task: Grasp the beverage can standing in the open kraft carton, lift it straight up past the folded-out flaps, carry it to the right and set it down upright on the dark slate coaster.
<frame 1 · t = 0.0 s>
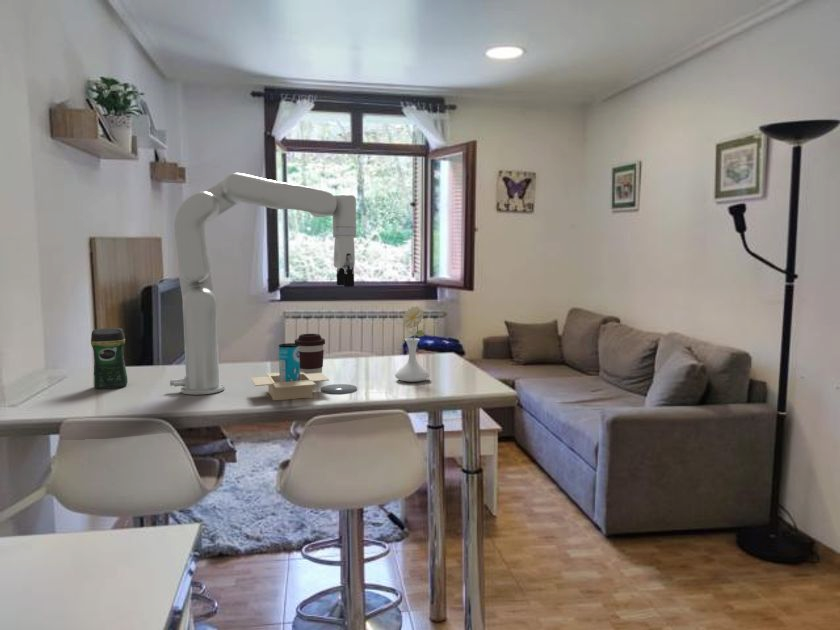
hand: (345, 285, 200), 31 cm above the table, tool pointing down, fingers open, 9 cm apart
coaster: (338, 389, 188), on the table
carton: (290, 394, 182), on the table
coffee cup: (310, 380, 204), on the table
flower in vase: (413, 381, 201), on the table
beverage can: (290, 395, 182), resting in carton
coffee jar: (110, 387, 193), on the table
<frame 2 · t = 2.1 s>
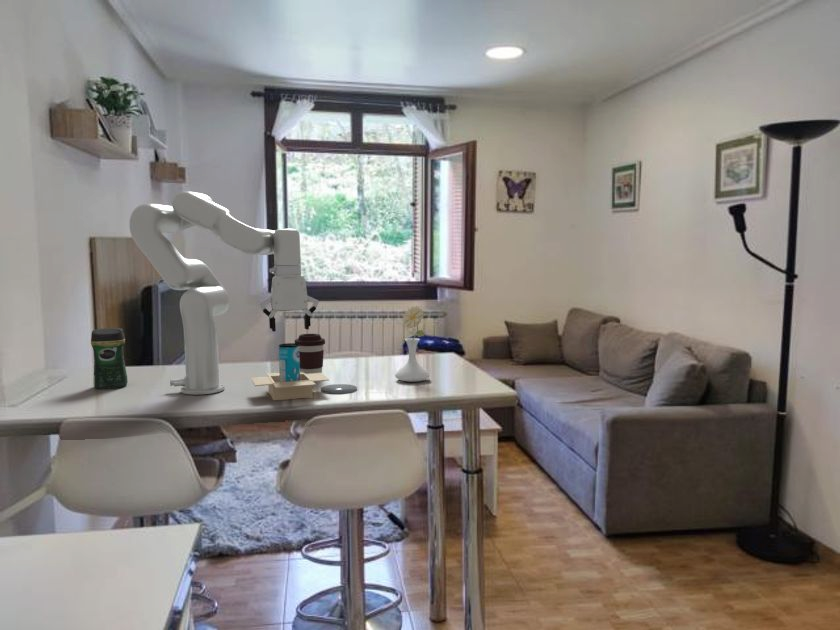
hand: (290, 330, 180), 19 cm above the table, tool pointing down, fingers open, 9 cm apart
nothing on the table moved.
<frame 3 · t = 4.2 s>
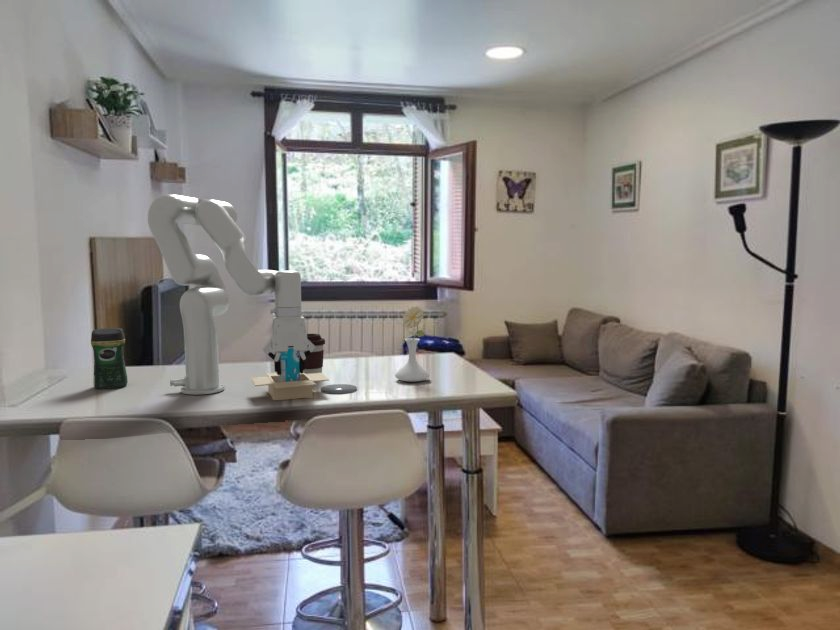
hand: (289, 372, 181), 7 cm above the table, tool pointing down, fingers closed on beverage can, 5 cm apart
beverage can: (290, 395, 182), resting in carton, touching gripper
everything else where it was.
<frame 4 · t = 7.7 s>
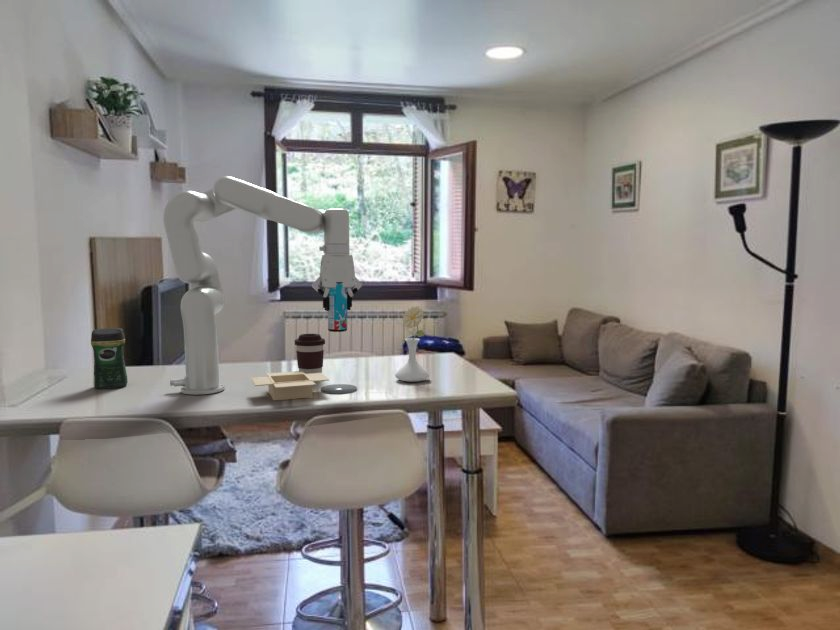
hand: (337, 309, 186), 25 cm above the table, tool pointing down, fingers closed on beverage can, 5 cm apart
beverage can: (337, 331, 187), point 18 cm above the table, touching gripper
everything else where it was.
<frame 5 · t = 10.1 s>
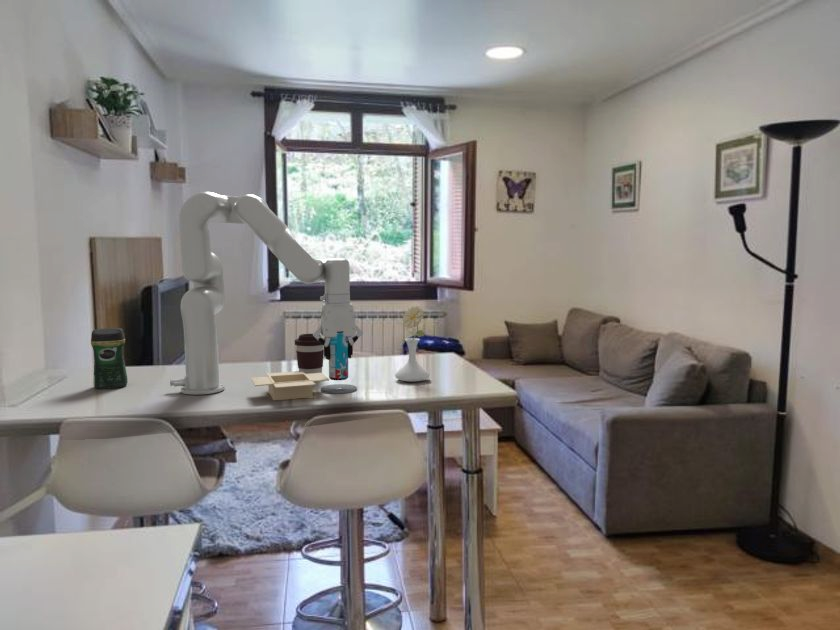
hand: (338, 357, 187), 10 cm above the table, tool pointing down, fingers closed on beverage can, 5 cm apart
beverage can: (338, 379, 188), point 3 cm above the table, touching gripper
everything else where it was.
when the fingers open (8 cm above the table, at t = 11.6 s): beverage can stays where it is, resting on coaster.
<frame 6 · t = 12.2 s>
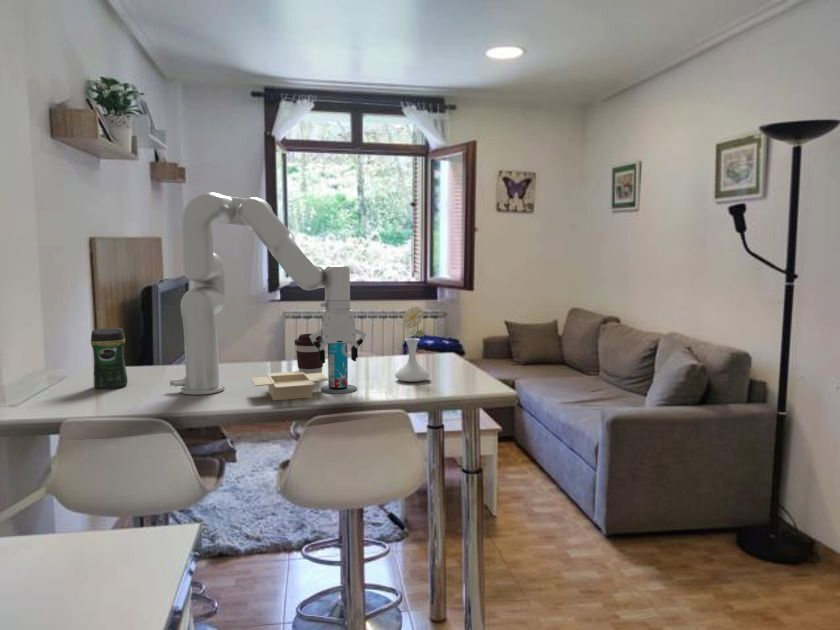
hand: (338, 361, 187), 9 cm above the table, tool pointing down, fingers open, 9 cm apart
beverage can: (338, 388, 188), resting on coaster
everything else where it was.
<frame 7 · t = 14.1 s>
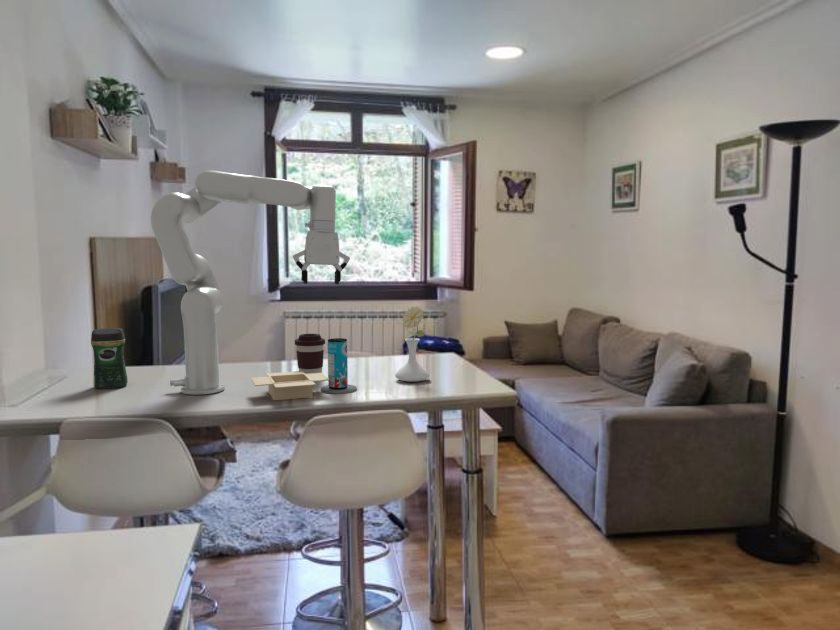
hand: (321, 283, 187), 33 cm above the table, tool pointing down, fingers open, 9 cm apart
nothing on the table moved.
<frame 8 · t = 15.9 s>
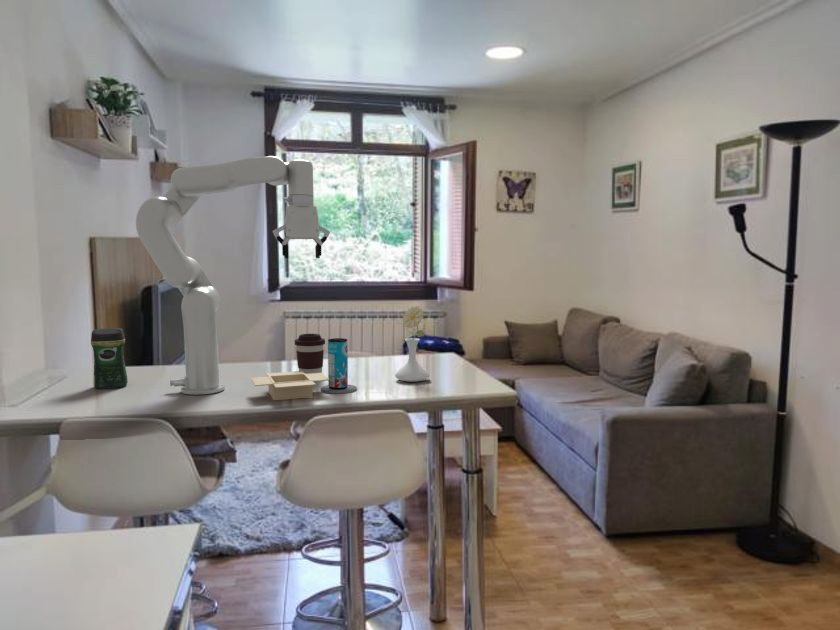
hand: (302, 258, 189), 40 cm above the table, tool pointing down, fingers open, 9 cm apart
nothing on the table moved.
at the end: beverage can inside the target area on the coaster (0.2 cm from its centre), point 0.4 cm above the coaster's base; beverage can tilted 0°; the gripper is holding nothing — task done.
